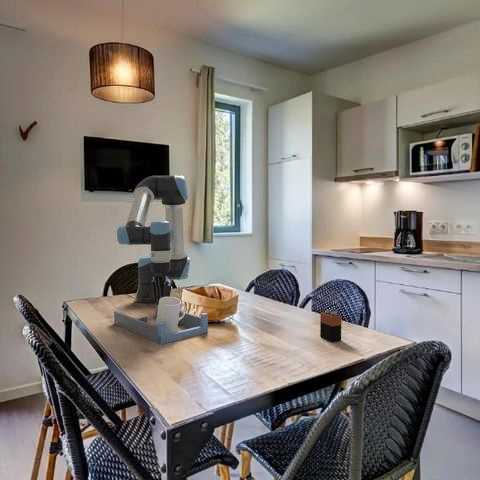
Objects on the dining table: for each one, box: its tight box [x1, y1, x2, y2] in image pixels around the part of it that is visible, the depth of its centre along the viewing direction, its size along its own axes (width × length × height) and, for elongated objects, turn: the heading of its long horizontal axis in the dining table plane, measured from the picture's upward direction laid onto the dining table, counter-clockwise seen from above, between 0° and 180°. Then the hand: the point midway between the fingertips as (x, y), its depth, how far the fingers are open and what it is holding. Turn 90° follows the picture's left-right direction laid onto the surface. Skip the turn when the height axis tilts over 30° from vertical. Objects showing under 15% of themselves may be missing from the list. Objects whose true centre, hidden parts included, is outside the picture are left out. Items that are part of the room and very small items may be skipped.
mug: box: [155, 296, 187, 334], centre depth 147 cm, size 12×8×12 cm
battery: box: [319, 309, 342, 343], centre depth 139 cm, size 4×7×10 cm, turn 27°
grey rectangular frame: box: [113, 303, 201, 344], centre depth 155 cm, size 20×34×5 cm, turn 43°
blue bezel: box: [157, 312, 209, 345], centre depth 142 cm, size 20×2×7 cm, turn 133°
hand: (161, 321), depth 152 cm, fingers closed
